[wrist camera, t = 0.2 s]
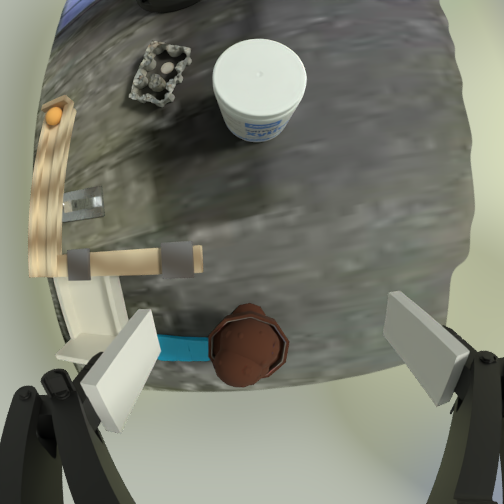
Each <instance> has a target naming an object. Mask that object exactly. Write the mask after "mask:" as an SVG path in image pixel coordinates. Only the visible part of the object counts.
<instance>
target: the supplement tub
mask: <svg viewBox="0 0 504 504" xmlns="http://www.w3.org/2000/svg"><path fill="white" fill-rule="evenodd" d="M305 87H306V71H305V68H304V66H303V63H302V62H301V60H300V58H299V57H298V56H297V55H296V54H295V53H294V52H293V51H292V50H291V49H289V48H288V47H286V46H285V45H283V44H281V43H278V42H275V41H271V40H266V39H251V40H245V41H242V42H239V43H237V44H235V45H233V46H231V47H230V48H228V49H227V50H226V51H224V52H223V53H222V54H221V56H220V57H219V58H218V60H217V62H216V64H215V66H214V70H213V89H214V93H215V96H216V99H217V102H218V105H219V107H220V110H221V113H222V115H223V118H224V121H225V123H226V125H227V127H228V129H229V130H230V131H231V132H232V133H233V134H234V135H236V136H237V137H239V138H241V139H243V140H246V141H250V142H263V141H267V140H270V139H272V138H274V137H276V136H277V135H278V134H279V133H280V132H281V131H282V130H283V129H284V127H285V126H286V124H287V123H288V121H289V119H290V118H291V116H292V114H293V113H294V111H295V109H296V108H297V106H298V104H299V103H300V101H301V99H302V97H303V94H304V91H305Z"/></svg>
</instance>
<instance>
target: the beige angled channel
mask: <svg viewBox="0 0 504 504" xmlns="http://www.w3.org/2000/svg"><path fill="white" fill-rule="evenodd" d="M73 105H74V102H73V101H72V100H71V99H70V98H68V97H67V96H66V95H63V96H61V97H59V98H56V99H54V100H52V101H50V102H48V103H46V104H43V105H42V108H41V110H42V111H43V112H45V113H46V114H47V112H48V111H49V110H50V109H51V108H53V107H58V108H60V109H61V110H62V112H63V113H62V117H61V121H60V122H59V123H58V124H56V125H49V124H48V123H47V122H46V114H45V118H44V122H43V126H42V130H41V134H40V139H39V144H38V149H37V154H36V159H35V165H34V172H33V179H32V187H31V198H30V210H29V228H28V263H29V278H31V277H32V278H33V277H68V281H89V280H91V276H121V275H152V274H162V278H163V279H172V278H194V277H195V276H194V273H201V272H203V256H202V246H200V245H198V246H193V241H183V242H168V243H161V248H150V249H135V250H120V251H105V252H91V253H90V249H88V248H87V249H75V250H67V254H64V255H62V209H63V194H64V183H65V174H66V166H67V158H68V152H69V145H70V140H71V134H72V129H73V124H74V120H75V115H76V110H75V109H74V108H73Z"/></svg>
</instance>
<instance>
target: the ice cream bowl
mask: <svg viewBox="0 0 504 504" xmlns="http://www.w3.org/2000/svg"><path fill="white" fill-rule="evenodd" d="M288 347H289V341H288V339H287V337H286V336H285V334H284V333H283V331H282V330H281V328H280V327H279V325H278V324H277V322H276V321H275V319H273V318H270V317H267V316H265V313H264V312H263V310H262V309H261V307H259V306H257V305H254V304H251V303H248V304H243V305H239V306H238V308H237V309H236V310H235V311H234V312H233V314H231V315H227V316H226V317H225V318H224V319H223V320H222V321H221V322H220V323H219V324H218V326H217V327H216V328H215V329H214V330H213V331H212V332H211V333H210V335H209V336H208V357H209V359H210V360H211V361H212V362H213V366H214V368H215V371H216V374H217V376H218V377H219V378H220V379H221V380H222V381H223V382H224V383H226V384H227V385H230V386H233V387H246V386H249V385H254V384H255V383H256V382H257V381H259V380H260V379H261V378H266V377H269V376H270V375H272V374H273V373H274V372H275V371H276V370H278V369H279V368H280V367H281V366H282V365H283V364H284V363H286V358H287V352H288Z"/></svg>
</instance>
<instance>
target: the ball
mask: <svg viewBox="0 0 504 504" xmlns="http://www.w3.org/2000/svg"><path fill="white" fill-rule="evenodd" d="M62 113H63V112H62V110H61V109H60V108H58V107H53V108H51V109H50V110H49V111H48V112H47V114H46V122H47V123H48V124H49V125H56V124H58V123H59V122H60V121H61V117H62Z"/></svg>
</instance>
